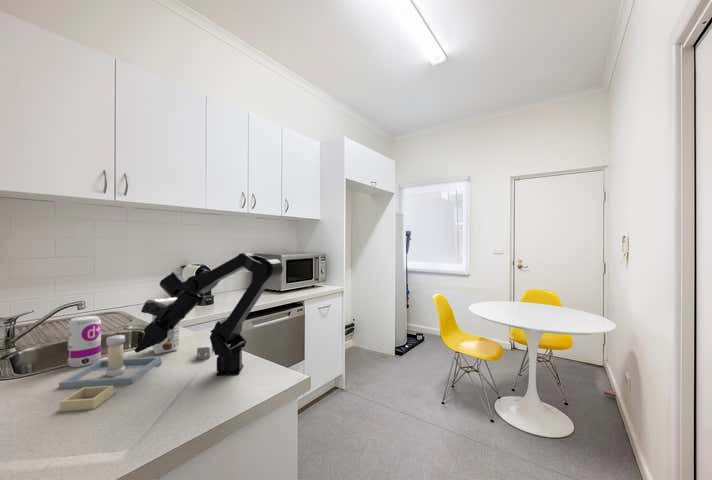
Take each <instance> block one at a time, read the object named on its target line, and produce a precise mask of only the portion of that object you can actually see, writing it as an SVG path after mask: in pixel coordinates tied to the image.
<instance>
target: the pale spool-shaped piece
mask: <svg viewBox="0 0 712 480" xmlns="http://www.w3.org/2000/svg"><path fill="white" fill-rule="evenodd" d="M105 341H106V342H105V345H106V346H107V359H108V368H107V369H106V370H105V376H106V378H107V377H108V378H114V377H117V376H120V375H123V374H124V373H126V369H125V366H124V365H123V359H124V343H125V342H126V335H124V334H116V335H112V336H108V337H106V339H105Z"/></svg>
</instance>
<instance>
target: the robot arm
mask: <svg viewBox="0 0 712 480" xmlns="http://www.w3.org/2000/svg"><path fill="white" fill-rule="evenodd" d="M243 269H246V270H248V272H250V273H251V281H250V282H251V283H250V284H249V286H248V287H247V289H246V290H245V291H244V293H243V294H242V296H241V297H240V299H239V300H238V302H237V304H236V305H235V307H234V308H233V310H232V311H231V313H230V314H229V315H228V317H226V318H223V319H221V320H217V322H216V323H215V324H214V327H213V329H211V330H210V336H209V339H210V343H211V344H212V351H213V353H214V356H217V357H216V376H229V375H230V376H231V375H233V376H234V375H240V373H241V371H242V369H243V368H244V364H243V348H244V347H246V344H247V340H246V339H245V337H244V336H243V335H242V334H241V333H242V331H243V323H244V322H245V319H246V318H247V317H248V316H249V314H250V312H252V309H253V308H254V307H255V305H256V303H257V302H258V300H259V299H260V298H261V296H262V295H263V293H264V291H266V288H268V287H269V286H270V285H271V284H273V283H274V282H275V281H276V280H277V279H278V278H279V277H280V276H282V274H283V271H284V267H283V264H282V262H281V261H280V260H279V259H276V258H267V257H263V256H260V255H257V254H253V253H251V252H242V253H239V254H238V255H237V256H235V257H233V258H231V259H230V260H228V261H225V262H224V263H222V264H221V265H219V266H216V267H215V268H213V269H211V270H209V271H205V272H202V273H198V274H195V275H192V276H189V277H188V278H187V279H185V278H184V277H183V276H181V274H180V272H178V271H172V272H171V273H170V274H168V275H167V276H165V277H164V278H163V279H161V280H160V281H159V284H158V285H159V287H160V288H161V289H162V290H163V291H164V292H166V294H167V295H168V296H169V298H175V297H176V298H177V299H176V300H175V301H174V302H173V303H170V304H169V305H168V306H167V305H164V304H162V303H159V302H156V301H154V300H152V299H148V300H146V301H145V302H144V305H143V306H142V307H141V310H140V312H141V313H143V314H149V315H151V316H152V315H155V316H157V317H156V318H155V319H154V321H151V322H149V324H148V325H147V326H146V327H145V328H144V329H143V331H144V337H143V338H142V339H141V341H140V342H139V343H138V344H137V346H136V347H135V349H134V351H133V352H135V353H140V352H142V351H144V350H146V349H148V348H150V347H151V348H152V347H153V345H156V344H158V343H161V342H163V341H164V340H165V339H166V338H167V337H168V336H169V334H170V330H172V329H173V328H174V327H175V326H176V325H177V324H178V323H179V324H180V323H181V321H182V320H184V318H186V316H187V315H188V314H189V313H190V312H192V310H193V309H194V308H195V307H196V306H197V305H199V306H204V307H205V306H206V305H207V304H206V303H207V302H206V300H207V297H205V296H203V295H202V296H201V295H200V294H202V293H203V294H204V293H208V292H211V291H212V290H213V289H215V287H217V285H218V284H219V282H221V281H222V280H224V279H227V278H228V277H230V276H232V275H234V274H235V273H237V272H239V271H242V270H243Z"/></svg>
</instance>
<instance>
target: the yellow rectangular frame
mask: <svg viewBox="0 0 712 480" xmlns="http://www.w3.org/2000/svg"><path fill="white" fill-rule="evenodd" d="M114 386H115V385H107V386H92V387H80V389H78V390H77V391H75V392H73V393H72V394H70V395H69V396H67V397H65V398H64V399H62V400H61V401H59V410H58V411H55V414H63V413H73V412H74V413H77V412H87V411H95V410H97V409H98V408H100V406H102V405H103V404H105V403H106V402H107V401H108V400H110V399H112V397H114V396H115V395H116V394H117V392H114V390H115V389H114Z"/></svg>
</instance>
